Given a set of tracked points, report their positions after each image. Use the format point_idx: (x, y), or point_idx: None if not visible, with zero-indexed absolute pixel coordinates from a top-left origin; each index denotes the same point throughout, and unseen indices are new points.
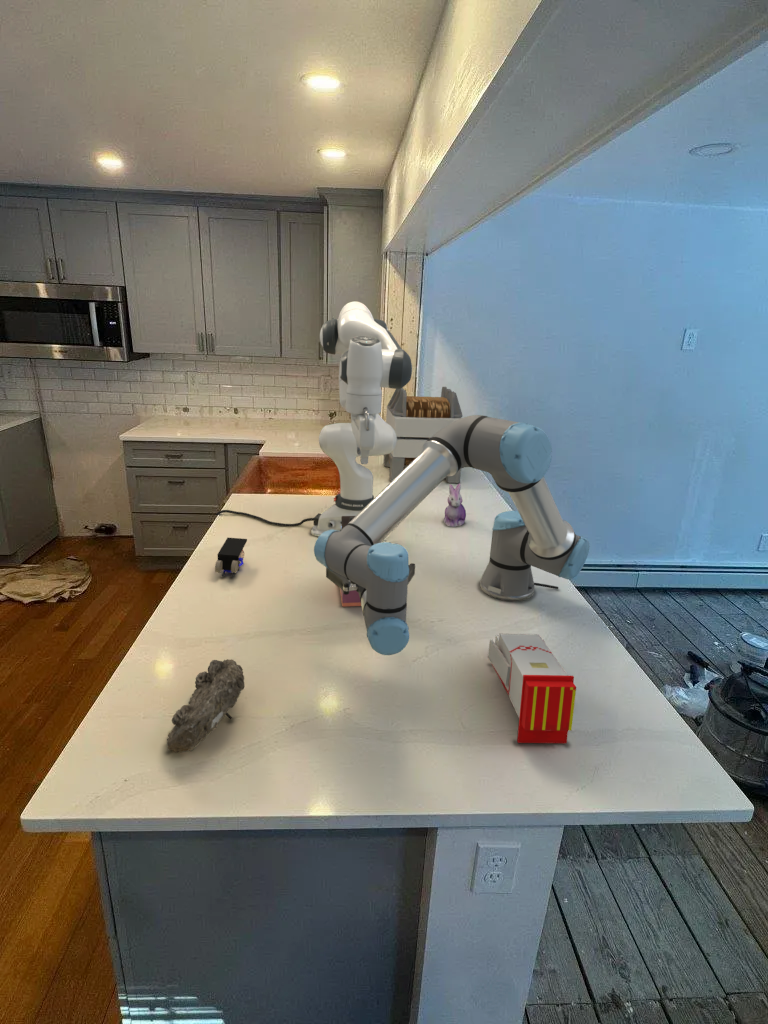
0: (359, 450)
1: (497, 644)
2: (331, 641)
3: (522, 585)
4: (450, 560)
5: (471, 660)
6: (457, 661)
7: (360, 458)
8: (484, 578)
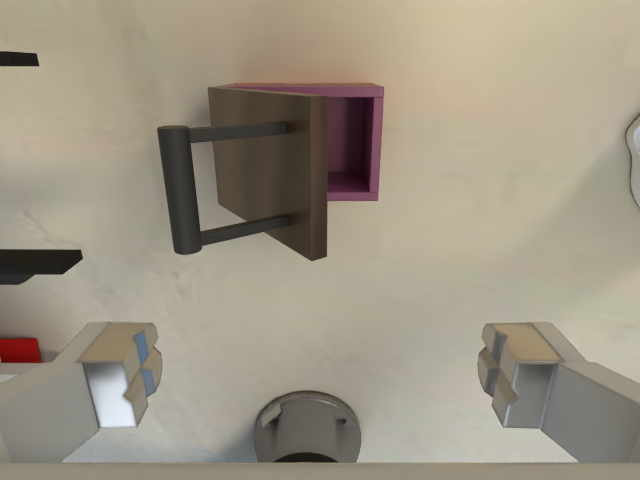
0: (501, 366)
1: (32, 367)
2: (72, 43)
3: None
4: (455, 368)
5: (46, 311)
6: (39, 288)
7: (126, 343)
8: (305, 413)
